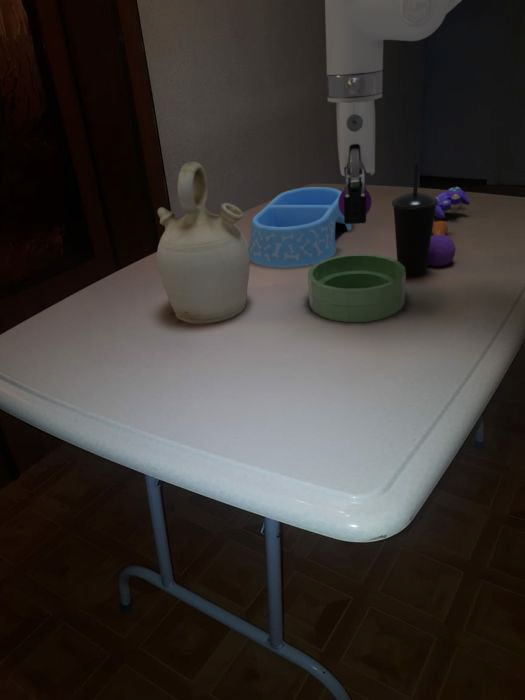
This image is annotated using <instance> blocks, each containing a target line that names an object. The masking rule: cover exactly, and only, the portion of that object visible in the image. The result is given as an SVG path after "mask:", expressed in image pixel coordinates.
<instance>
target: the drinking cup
mask: <svg viewBox="0 0 525 700" xmlns="http://www.w3.org/2000/svg"><path fill="white" fill-rule="evenodd" d="M419 163H420V162H419V161H415V162H414V165H413V187H412V192H409V193H405V194H402V195H400V196H399V197H396V198H394V199H393V200H392V201H391V205H392V207H393V217H394V233H395V246H396V247H395V249H396V261H399V262H400V263H401V264H402V265H403V266H404V267H405V271H406V278H419V277H422V276H425V274H426V272H427V267H428V264H427V261H428V254H429V248H430V241H431V236H433V233H432V228H433V224H434V223H435V216H436V215H435V209H436V205H437V204H438V199H437V198H435V196H432V195H430V194H428V193H423V192H418V185H419Z"/></svg>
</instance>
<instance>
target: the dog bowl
mask: <svg viewBox="0 0 525 700" xmlns="http://www.w3.org/2000/svg"><path fill="white" fill-rule="evenodd" d="M342 192H343V191H341V190H339V189H337V188H333V187H326V186H309V187H300V188H293V189H290V190H287V191H284V192H281V193H280V194H279V193H278V195H277V196H275V197H274V198H273V199H272V200H271V201H270V202H269V203H268V204H266V206H264V207H263V208H262V209H261V210H260V211H259V212H258V213H256V214H255V216H254V217H253V218H252V220H251V226H250V227H251V228H250V236H249V237H250V238H249V245H248V249H249V256H250V262H252V263H254V264H256V265H259V266H263V267H268V268H278V269H279V268H280V269H281V268H282V269H284V268H286V269H291V268H300V267H307V266H313V265H314V264H316V263H318V262H320V261H322V260H325V259H328V258H332V257H334V255H335V254H336V252H337V245H336V223H337V224H343V225H345V227H346V230H347V232H349V231H352V229H353V228H352V224H345V222H344V216H343V215H342V213H341V212H340V210H339V206H338V200H339V197H340V195H341V193H342Z"/></svg>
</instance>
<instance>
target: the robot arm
mask: <svg viewBox="0 0 525 700" xmlns="http://www.w3.org/2000/svg"><path fill="white" fill-rule="evenodd" d="M462 1H463V0H324V18H325V20H324V21H325V22H324V23H325V51H326V52H325V53H326V54H325V55H326V56H325V57H326V93H327V94H326V95H327V102H329V103H335V108H336V109H335V110H336V134H337V135H336V137H337V138H336V140H337V152H338V153H337V154H338V162H339V163H338V164H339V171H340V175H341V176H342V177H344V180H345V181H344V182H345V183H344V184H345V186H344V190H345V189H346V196H344V222H345V224H351V225H354V224H355V225H357V224H365V223H366V222H367V214H366V195H365V189H366V183H365V181H366V180H365V177H366V174H369V175H370V176H374V174H376V106H375V105H376V104H375V100H378V99H380V98H383V78H384V76H383V73H384V71H383V69H384V41H402V42H416V41H417V42H418V41H421V40H424V39H426V38H428V37H429V36H431V35H432V34H433V33H435V32H436V31H437V30H438V28H439V27H440V26H441V25H442V23H443V22H444V20H445V17H446V16H447V14H448V13H449V12H451V11H452V10H453V9H455V7H456V6H457V5H458V4H459V3H461V2H462ZM365 173H366V174H365ZM366 190H367V189H366ZM345 224H344V225H345Z"/></svg>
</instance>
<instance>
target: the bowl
mask: <svg viewBox="0 0 525 700" xmlns="http://www.w3.org/2000/svg"><path fill="white" fill-rule="evenodd" d="M406 278H407V277H406V271H405V267H404V266H403V265H402V264H401V263H400V262H399V261H397V259H393V258H392V257H388V256H385V255H379V254H370V253H352V254H349V253H348V254H344V255H336V256H332V257H330V258H328V259H325V260H322V261H320V262H318V263H316V264H312V265H311V267H310V268H309V269H308V273H307V286H308V303H309V307H310V309H311V311H312V312H314V313H315V314H317V315H318V316H320V317H321V318H325V319H328V320H331V321H334V322H335V321H337V322H342V323H343V322H344V323H366V322H374V321H379V320H383V319H385V318H388V317H390V316H393V315H395V314H396V313H398V312H400V311H401V310H402V308H403V306H404V305H405V303H406V281H407V280H406Z"/></svg>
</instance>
